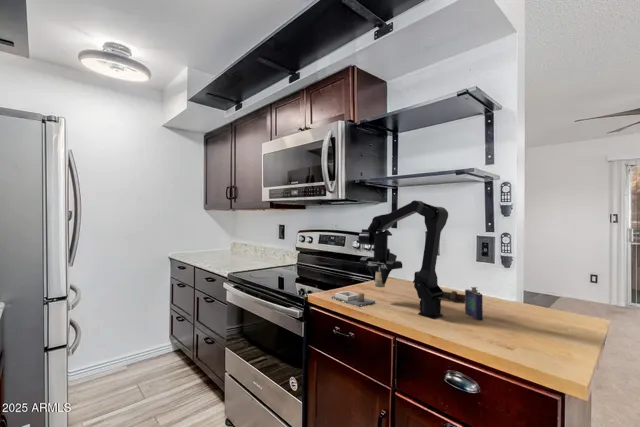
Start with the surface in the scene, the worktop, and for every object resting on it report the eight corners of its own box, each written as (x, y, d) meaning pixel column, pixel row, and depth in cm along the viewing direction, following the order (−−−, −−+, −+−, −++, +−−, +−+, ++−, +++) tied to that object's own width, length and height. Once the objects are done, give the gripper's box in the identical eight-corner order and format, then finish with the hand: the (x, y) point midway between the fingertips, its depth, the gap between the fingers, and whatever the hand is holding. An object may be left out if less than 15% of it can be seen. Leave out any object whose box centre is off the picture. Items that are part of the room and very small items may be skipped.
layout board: (375, 303, 128) (375, 293, 128) (357, 306, 122) (358, 297, 122) (348, 295, 141) (348, 286, 141) (331, 298, 135) (331, 289, 135)
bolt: (464, 308, 131) (428, 301, 139) (466, 300, 135) (430, 293, 143) (463, 297, 129) (426, 291, 137) (465, 289, 132) (429, 283, 141)
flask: (463, 312, 117) (463, 284, 117) (471, 312, 117) (471, 284, 117) (477, 320, 108) (477, 289, 108) (485, 320, 108) (485, 289, 108)
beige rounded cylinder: (386, 286, 130) (387, 272, 130) (380, 287, 128) (380, 273, 128) (379, 284, 133) (379, 270, 133) (373, 285, 131) (373, 271, 131)
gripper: (410, 247, 129) (410, 285, 128) (376, 244, 143) (376, 278, 143) (393, 248, 122) (393, 288, 121) (359, 244, 136) (358, 280, 136)
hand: (380, 283), depth 130 cm, fingers closed on beige rounded cylinder, 4 cm apart
